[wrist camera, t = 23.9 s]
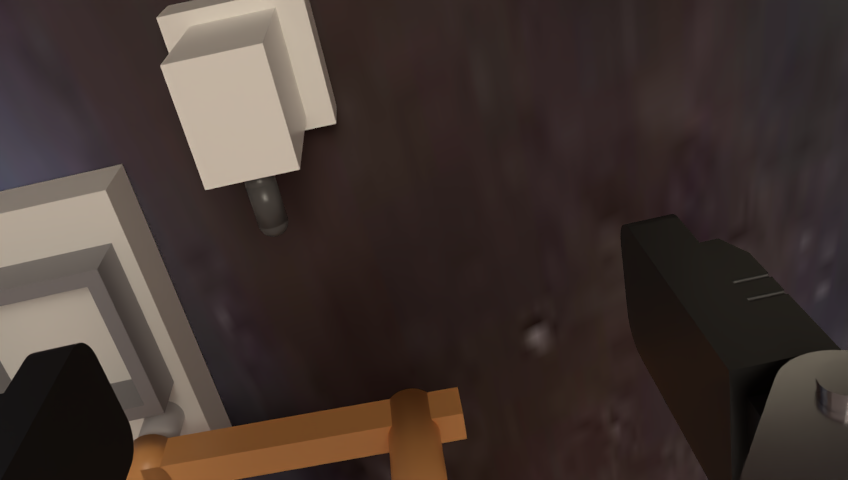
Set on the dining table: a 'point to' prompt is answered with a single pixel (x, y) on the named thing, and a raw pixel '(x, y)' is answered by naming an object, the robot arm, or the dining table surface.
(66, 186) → the white stepped base
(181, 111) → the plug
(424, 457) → the crank handle
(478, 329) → the dining table surface
